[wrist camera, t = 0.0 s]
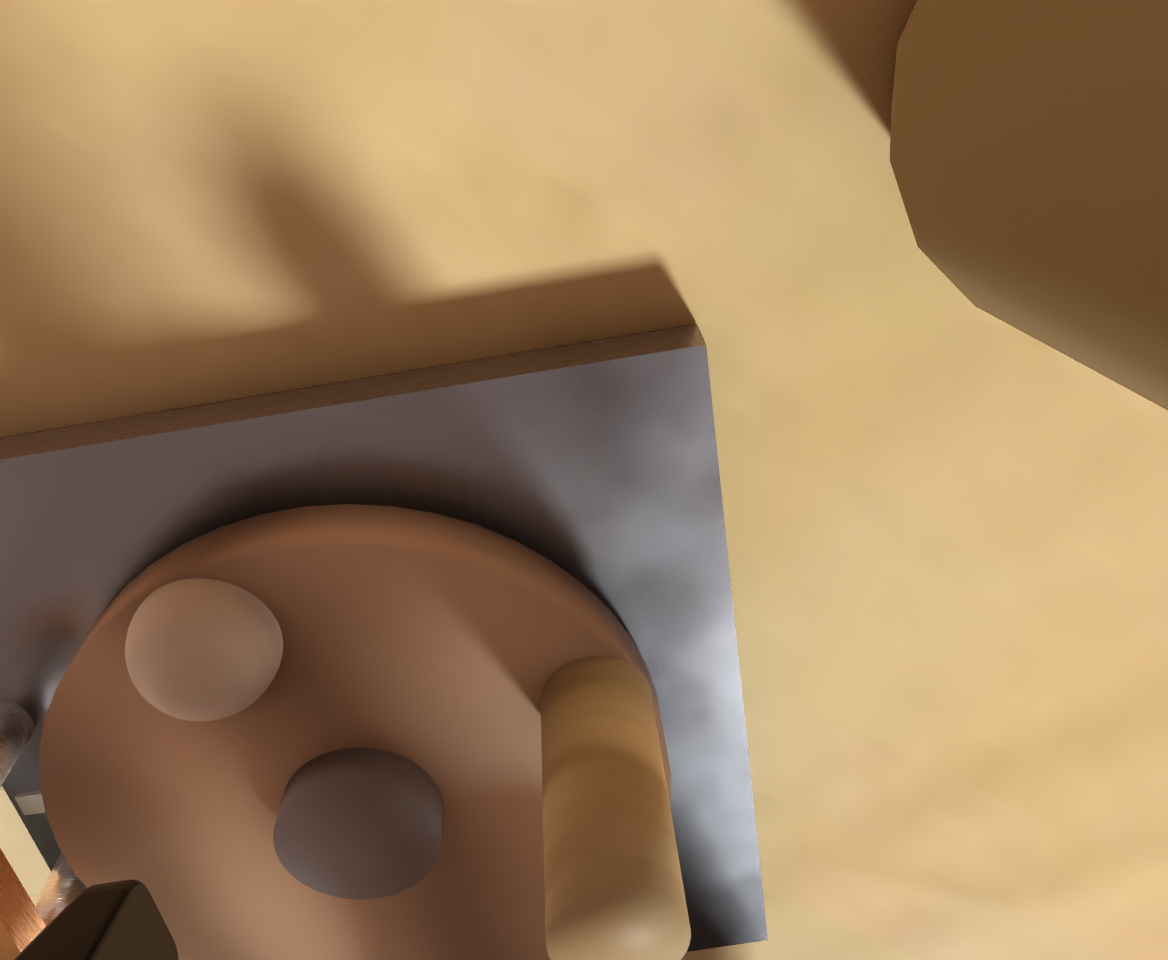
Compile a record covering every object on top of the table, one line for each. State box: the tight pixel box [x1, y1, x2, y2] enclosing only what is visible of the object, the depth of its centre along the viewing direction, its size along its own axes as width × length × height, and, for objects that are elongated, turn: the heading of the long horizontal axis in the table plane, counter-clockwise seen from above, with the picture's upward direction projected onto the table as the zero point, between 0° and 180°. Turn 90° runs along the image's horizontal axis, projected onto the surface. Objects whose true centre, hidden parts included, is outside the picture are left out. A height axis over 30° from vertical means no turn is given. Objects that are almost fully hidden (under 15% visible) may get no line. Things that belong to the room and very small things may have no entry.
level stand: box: [0, 324, 768, 960], centre depth 24 cm, size 18×18×5 cm
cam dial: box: [39, 504, 691, 960], centre depth 22 cm, size 14×14×8 cm
